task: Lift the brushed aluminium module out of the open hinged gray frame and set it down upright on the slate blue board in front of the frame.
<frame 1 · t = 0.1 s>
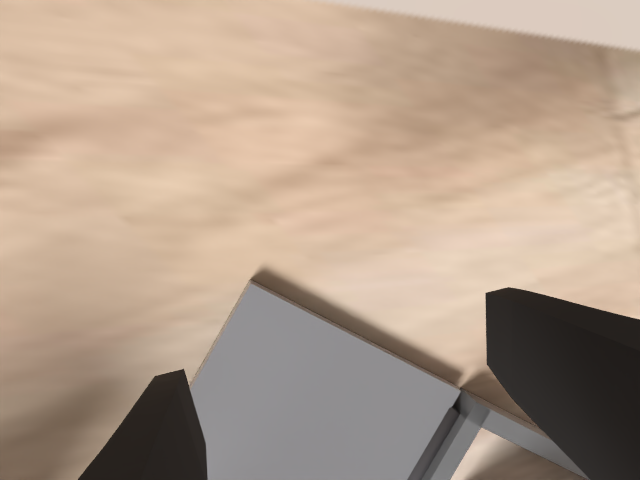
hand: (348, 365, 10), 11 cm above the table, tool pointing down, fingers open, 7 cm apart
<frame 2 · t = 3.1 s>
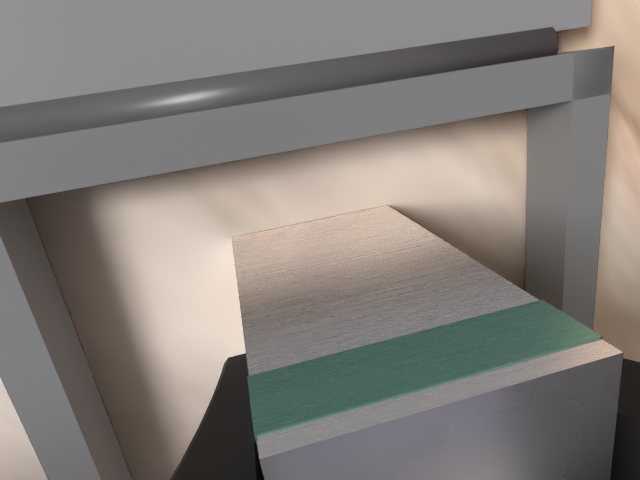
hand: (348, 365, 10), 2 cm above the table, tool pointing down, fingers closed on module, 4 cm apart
module: (371, 410, 9), in the hinged gray frame, touching gripper
hinged gray frame: (328, 326, 12), on the table
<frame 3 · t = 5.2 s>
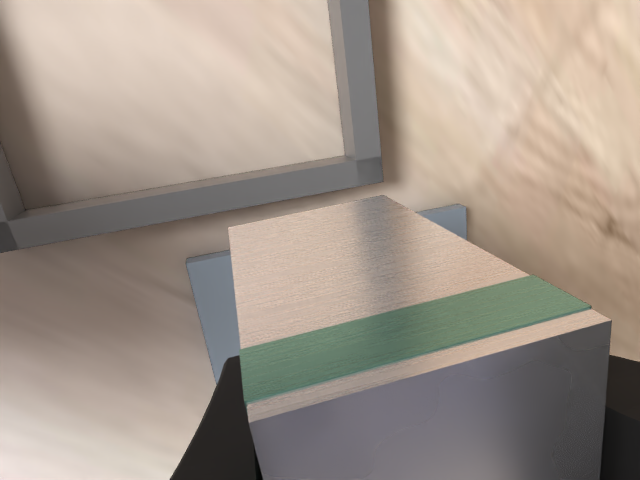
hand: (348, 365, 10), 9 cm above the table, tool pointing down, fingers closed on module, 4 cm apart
module: (366, 395, 9), point 10 cm above the table, touching gripper
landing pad: (346, 349, 21), on the table
hinged gray frame: (162, 39, 15), on the table
when the fingers open (4 cm above the table, at t = 7.3 s): module drops 1 cm, resting on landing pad.
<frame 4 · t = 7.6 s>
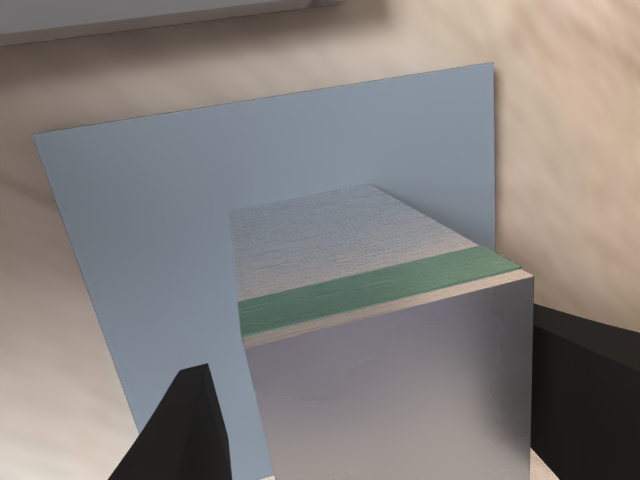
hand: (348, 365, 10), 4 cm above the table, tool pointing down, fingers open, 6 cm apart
module: (349, 357, 10), on the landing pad, point 4 cm above the table
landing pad: (312, 293, 14), on the table
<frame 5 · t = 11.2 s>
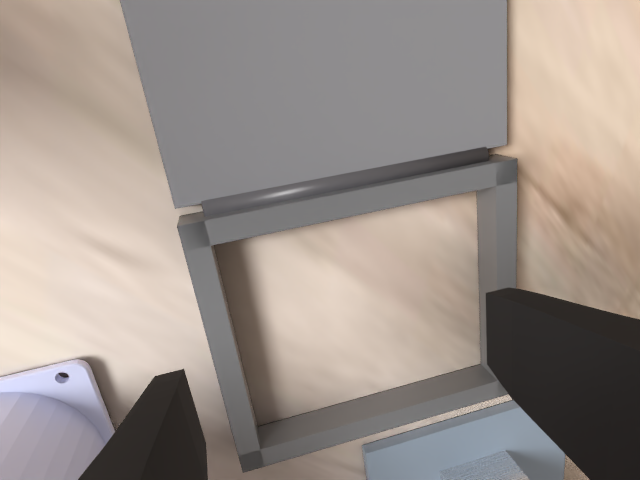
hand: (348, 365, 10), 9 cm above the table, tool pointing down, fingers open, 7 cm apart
hinged gray frame: (363, 307, 21), on the table
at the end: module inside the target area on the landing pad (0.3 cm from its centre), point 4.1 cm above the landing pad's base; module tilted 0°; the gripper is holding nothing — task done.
